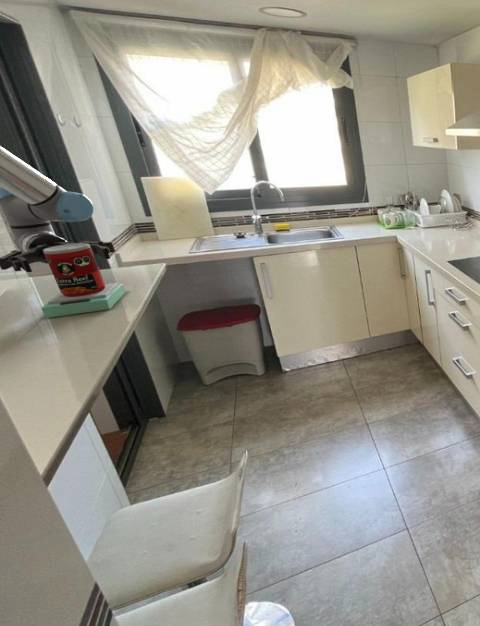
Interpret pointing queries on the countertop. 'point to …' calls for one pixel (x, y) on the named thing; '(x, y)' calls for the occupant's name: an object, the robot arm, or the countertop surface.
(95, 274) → the canned food
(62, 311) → the scale
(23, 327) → the countertop surface
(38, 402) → the countertop surface
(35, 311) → the countertop surface
